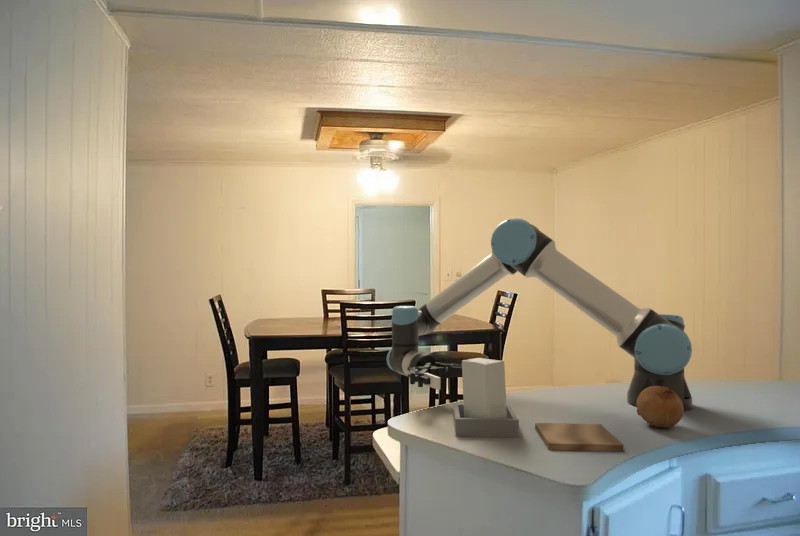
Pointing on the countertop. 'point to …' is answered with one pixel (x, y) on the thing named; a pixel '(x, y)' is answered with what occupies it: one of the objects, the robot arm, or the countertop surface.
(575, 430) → the coaster
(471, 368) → the skincare box
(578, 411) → the countertop surface
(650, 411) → the onion
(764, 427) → the countertop surface
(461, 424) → the holder
